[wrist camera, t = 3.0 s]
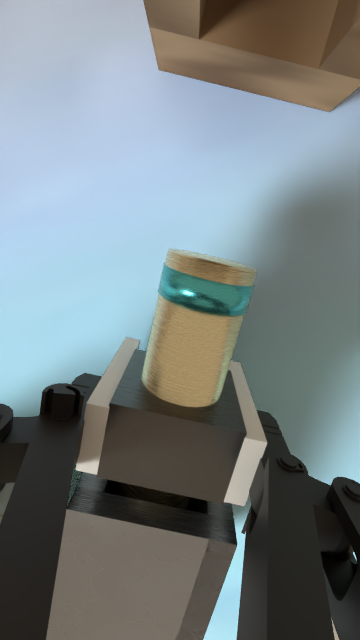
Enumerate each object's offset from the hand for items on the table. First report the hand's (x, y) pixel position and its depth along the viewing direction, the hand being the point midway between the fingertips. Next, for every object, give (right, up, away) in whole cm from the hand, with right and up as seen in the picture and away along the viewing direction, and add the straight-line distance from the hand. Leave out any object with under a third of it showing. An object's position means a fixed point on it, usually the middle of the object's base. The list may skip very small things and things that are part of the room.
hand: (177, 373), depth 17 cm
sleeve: (-2, -7, +4) cm, 8 cm away
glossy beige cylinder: (-1, -2, -1) cm, 3 cm away
